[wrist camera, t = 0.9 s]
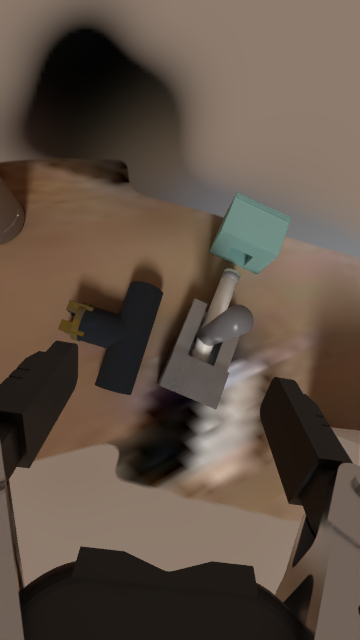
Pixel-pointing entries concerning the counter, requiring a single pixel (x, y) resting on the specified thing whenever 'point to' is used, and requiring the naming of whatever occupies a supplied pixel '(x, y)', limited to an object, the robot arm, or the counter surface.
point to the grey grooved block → (197, 362)
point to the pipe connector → (117, 334)
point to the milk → (349, 443)
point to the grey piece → (222, 318)
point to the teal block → (250, 234)
